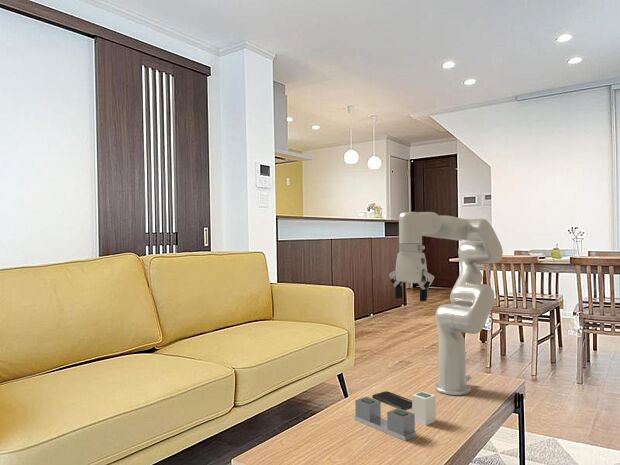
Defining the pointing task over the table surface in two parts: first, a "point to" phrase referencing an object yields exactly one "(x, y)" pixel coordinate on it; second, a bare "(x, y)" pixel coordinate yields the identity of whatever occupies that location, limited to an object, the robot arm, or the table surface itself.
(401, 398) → the phone
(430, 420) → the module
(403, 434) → the rail
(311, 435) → the table surface
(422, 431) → the table surface
